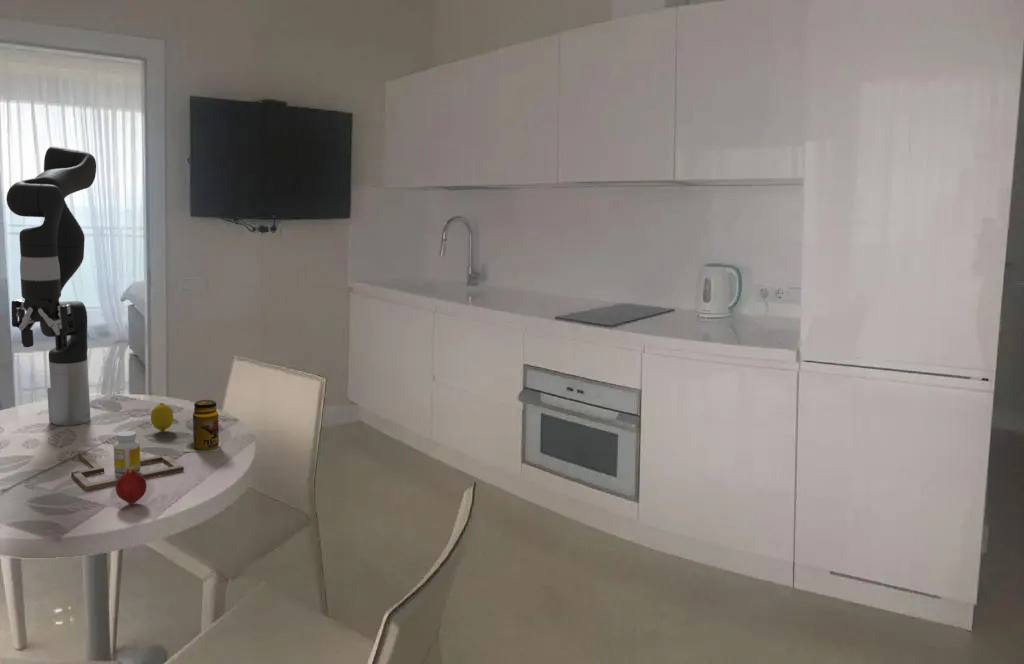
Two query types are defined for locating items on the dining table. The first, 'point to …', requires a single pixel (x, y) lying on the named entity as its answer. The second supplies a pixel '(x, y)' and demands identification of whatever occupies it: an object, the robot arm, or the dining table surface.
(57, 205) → the robot arm
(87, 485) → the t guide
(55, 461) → the dining table surface
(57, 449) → the dining table surface
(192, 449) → the condiment
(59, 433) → the dining table surface
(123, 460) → the supplement bottle
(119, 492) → the onion
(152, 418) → the lemon
